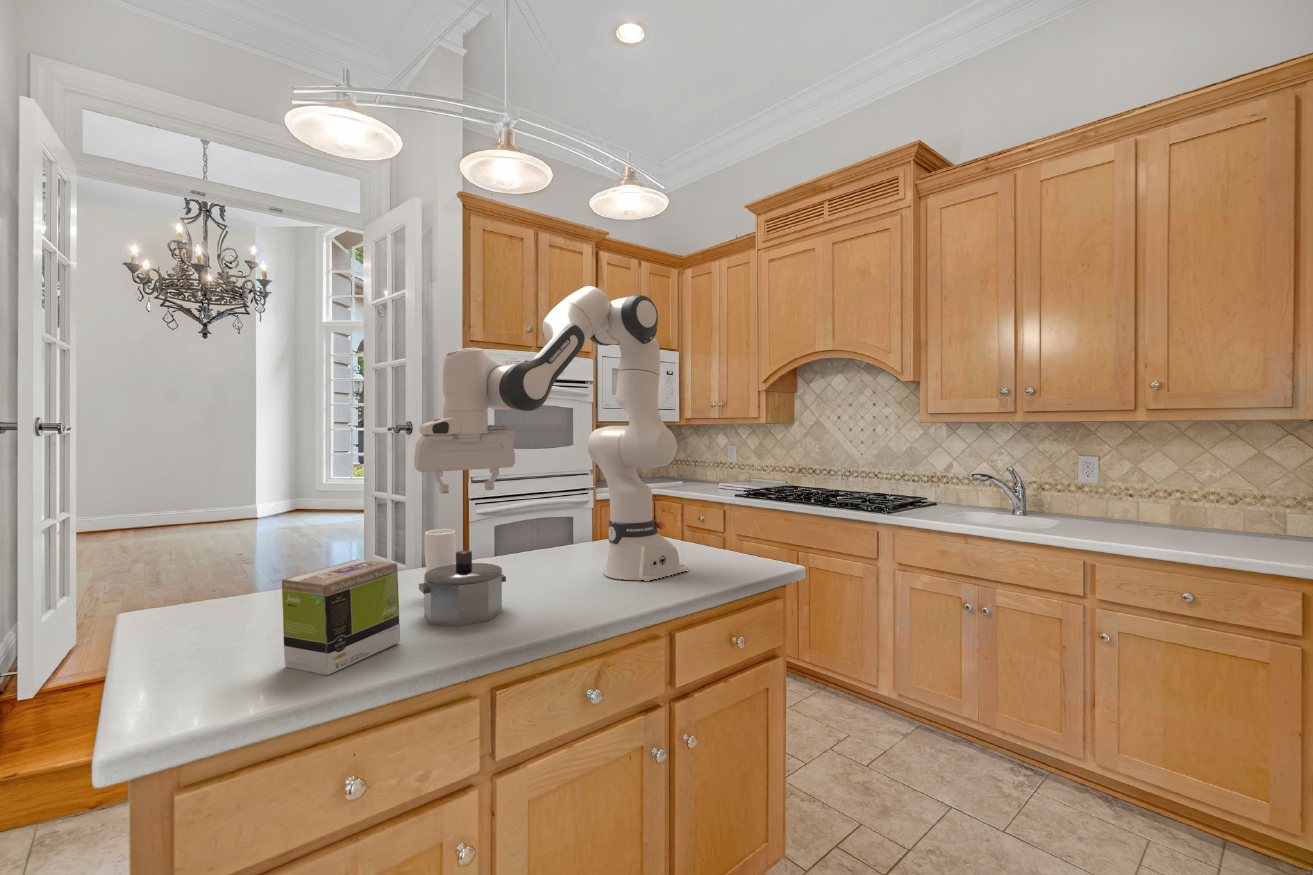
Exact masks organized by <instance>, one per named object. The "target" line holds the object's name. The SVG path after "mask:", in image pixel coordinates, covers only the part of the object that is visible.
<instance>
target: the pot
mask: <svg viewBox="0 0 1313 875" xmlns="http://www.w3.org/2000/svg"><path fill="white" fill-rule="evenodd" d="M506 582H507V576H505V575H504V574H503V573H502V574H501V576H499V577H498V578H496V579H493V580H490V581H486V582H482V583H476V584H468V585H437V584H431V583H428V582H426V581H425V576H424V577H423V582H421V583H418V589H419V591H420V592H421V594H423V602H424V603H423V605H424V607H423V610H424V613H423V615H424V617H425V619H426V620H427V621H428V623H429V624H430V625H433V626H434V625H435V626H436V625H437V626H438V625H439V626H447V627H448V626H451V627H462V626H467V625H474V624H478V623H479V624H480V623H483V622H489V621H490V620H492V619H493V618H495V617H496V616H498V615H499V614H501V613H502V612H503V600H502V598H503V597H502V596H503V588H502V586H503V585H502V584H503V583H506Z"/></svg>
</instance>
